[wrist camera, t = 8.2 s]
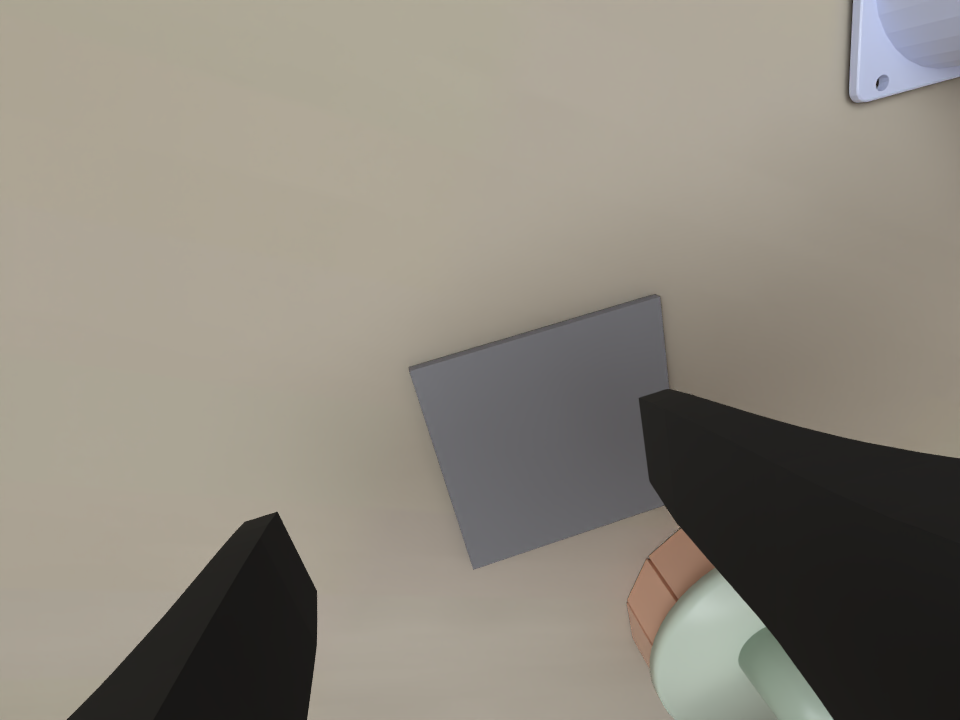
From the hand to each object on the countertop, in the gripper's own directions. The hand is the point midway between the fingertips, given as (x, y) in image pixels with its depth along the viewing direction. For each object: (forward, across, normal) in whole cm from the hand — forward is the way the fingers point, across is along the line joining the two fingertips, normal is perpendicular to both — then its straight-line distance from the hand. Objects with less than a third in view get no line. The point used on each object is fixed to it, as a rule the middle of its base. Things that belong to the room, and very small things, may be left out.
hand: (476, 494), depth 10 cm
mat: (+10, -4, +6) cm, 12 cm away
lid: (+7, -11, +18) cm, 22 cm away
